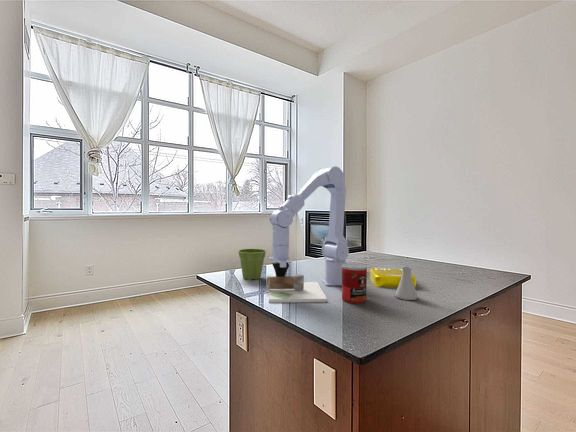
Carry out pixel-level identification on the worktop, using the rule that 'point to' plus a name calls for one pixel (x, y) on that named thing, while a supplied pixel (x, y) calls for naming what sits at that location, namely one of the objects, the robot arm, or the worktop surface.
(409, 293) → the flask
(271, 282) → the brown bar
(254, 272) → the plant pot
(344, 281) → the canned food
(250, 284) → the worktop surface
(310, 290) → the dial plate
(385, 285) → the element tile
